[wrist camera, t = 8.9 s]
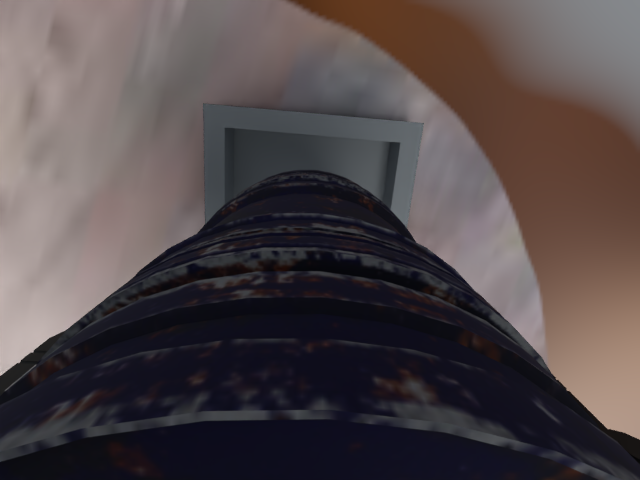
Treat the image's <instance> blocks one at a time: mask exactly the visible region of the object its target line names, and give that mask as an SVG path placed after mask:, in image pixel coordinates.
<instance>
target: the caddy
mask: <svg viewBox="0 0 640 480" xmlns="http://www.w3.org/2000/svg"><path fill="white" fill-rule="evenodd" d="M203 118H204V176H205V224H206V223H207V222H208V221H209V220H210V219H211V217H212V216H213V215H214V214H215V213H216V212H217V211H218V210H219V209H220V208H221V207H222V206H223V205H224V204H226V203H227V202H228V201H229V200H231V199H232V198H233V197H235V196H236V195H237V194H239V193H240V192H241V191H243V190H244V189H246V188H248V187H250V186H252V185H254V184H256V183H258V182H260V181H262V180H263V179H265V178H267V177H270V176H273V175H276V174H279V173H282V172H286V171H293V170H320V171H326V172H331V173H334V174H337V175H340V176H343V177H345V178H347V179H349V180H351V181H353V182H355V183H357V184H358V185H360V186H361V187H362V188H364V189H366V190H368V191H369V192H370V193H372V194H373V195H374V196H376V197H377V198H378V199H380V200H381V201H382V202H383V203H384V204H385V205H386V206H387V207H388V208H389V209H390V210H391V211H392V212H393V213H394V214H395V215H396V216H397V217H398V218H399V219H400V221H401V222H402V223H403V224H404V225H405V226H406V228H407V223H408V217H409V211H410V205H411V199H412V192H413V186H414V180H415V174H416V168H417V162H418V156H419V149H420V143H421V137H422V131H423V125H424V123H416V122H405V121H394V120H383V119H371V118H360V117H349V116H338V115H327V114H316V113H304V112H293V111H282V110H271V109H260V108H248V107H237V106H226V105H215V104H204V103H203Z"/></svg>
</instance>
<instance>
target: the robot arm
mask: <svg viewBox="0 0 640 480" xmlns="http://www.w3.org/2000/svg"><path fill="white" fill-rule="evenodd" d="M64 332H65V331H64ZM64 332H61V333H59V334H57V335H55V336H53V337H51V338H49V339H48V340H47V341H45V342H44V343H43V344H41V345H40V346H39V347H38V348H36V349H35V350H34V352H33V353H30V354H28V355H27V356H26V357H25V358H23V359H22V360H21V362H20V363H17V364H16V365H14V366H13V367H12V368H10V369H9V370H8V371H7V372H5V373H4V374H3V375H1V376H0V396H1V395H2V393H3V392H5V391H6V390H7V389H8V388H9V387H11V386H12V385H13V384H14V383H15V382H17V381H18V380H19V379H20V378H21V377H23V376H24V375H25V374H26V373H27V372H29V371H30V370H31V369H32V368H33V367H35V366H36V364H37V363H38V361H39V360H40V359H41V358H42V357H43V356H44V355H45V354H46V352H47V351H48V350H49V349H50V348H51V347H52V346H53V345H54V344H55V342H56V341H57V340H58V339H59V338H60V337H61V336H62V335H63V334H64ZM553 377H554V376H553ZM554 379H555V377H554ZM555 380H556V379H555ZM556 381H557V382H558V383H559V384H560V385H561V386H562V387H563V388H564V389H565V390H566V388H565V387H564V386H563V385H562V384H561V383H560V382H559V381H558V380H556ZM566 391H567V390H566ZM567 392H568V393H569V394H570V395H571V396H572V397H573V399H574V400H575V401H576V402H577V403H578V404H579V405H580V406H581V407H582V408H583V409H584V410H585V411H586V412H587V413H588V415H589V416H590V417H591V418H592V419H593V420H594V421H595V422H596V423H597V425H598V427H599V428H600V430H601V431H603V432H604V433H605V434H607V435H608V436H610V437H611V438H613V439H614V440H615V441H617V442H618V443H619V444H620V445H621V446H622V447H623V448H624V449H625V450H626V451H627V452H628V453H629V454H630V455H631V456H632V457H633V458H634V459H635V460H636V461H637V462H638V463H639V464H640V440H639V439H637V438H634V437H632V436H630V435H628V434H626V433H623V432H618V431H615V430H611V429H607V428H606V427H605V426H604V425H603V424H602V423H601V422H600V421H599V420H598V419H597V418H596V417H595V416H594V415H593V414H592V413H591V412H590V411H588V410H587V408H586V407H584V405H583V404H582V403H581V402H579V400H577V398H575V397H574V396H573V395H572V394H571V392H569V391H567Z"/></svg>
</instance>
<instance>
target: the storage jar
mask: <svg viewBox="0 0 640 480" xmlns="http://www.w3.org/2000/svg"><path fill="white" fill-rule="evenodd" d="M0 480H640V464H639V463H638V462H637V461H636V460H635V459H634V458H633V457H632V456H631V455H630V454H629V453H628V452H627V451H626V450H625V449H624V448H623V447H622V446H621V445H620V444H619V443H618V442H617V441H615V440H614V439H613V438H611V437H610V436H608V435H607V434H605V433H604V432H603V431H601V430H600V428H599V427H598V425H597V423H596V422H595V421H594V420H593V419H592V418H591V417H590V416H589V415H588V413H587V412H586V411H585V410H584V409H583V408H582V407H581V406H580V405H579V404H578V403H577V402H576V401H575V400H574V399H573V397H572V396H571V395H570V394H569V393H568V392H567V391H566V390H565V389H564V388H563V387H562V386H561V385H560V384H559V383H558V382H557V381H556V380H555V379H554V377H553V375H552V374H551V372H550V370H549V369H548V367H547V365H546V364H545V362H544V360H543V359H542V357H541V356H540V355H539V354H538V353H537V352H536V351H535V350H534V349H533V347H532V346H531V345H530V344H529V343H528V342H527V341H526V340H525V339H524V338H523V337H522V336H521V335H520V333H519V332H518V331H517V330H516V329H515V328H514V327H513V326H512V325H511V324H510V323H509V322H508V321H507V320H505V319H504V318H503V317H502V316H501V314H500V313H498V312H497V311H496V310H495V309H494V308H493V307H492V306H491V305H490V304H489V303H488V302H487V301H486V300H485V299H484V298H483V297H482V296H481V295H479V294H478V293H477V292H475V291H474V290H473V289H472V287H471V286H470V285H469V284H468V283H467V282H466V281H465V280H464V279H463V278H462V277H461V276H460V275H459V273H458V272H457V271H456V270H455V269H454V268H452V267H451V266H450V265H448V264H447V263H446V262H444V261H443V260H442V259H440V258H439V257H438V256H436V255H435V254H434V253H432V252H431V251H430V250H428V249H427V248H426V247H424V246H422V245H420V244H418V243H416V241H415V240H414V238H413V237H412V235H411V234H410V232H409V231H408V229H407V228H406V226H405V225H404V224H403V223H402V222H401V221H400V219H399V218H398V217H397V216H396V215H395V214H394V213H393V212H392V211H391V210H390V209H389V208H388V207H387V206H386V205H385V204H384V203H383V202H382V201H381V200H380V199H378V198H377V197H376V196H374V195H373V194H372V193H370V192H369V191H368V190H366V189H364V188H362V187H361V186H360V185H358V184H357V183H355V182H353V181H351V180H349V179H347V178H345V177H343V176H340V175H337V174H334V173H331V172H326V171H320V170H293V171H286V172H282V173H279V174H276V175H273V176H270V177H267V178H265V179H263V180H262V181H260V182H258V183H256V184H254V185H252V186H250V187H248V188H246V189H244V190H243V191H241V192H240V193H239V194H237V195H236V196H235V197H233V198H232V199H231V200H229V201H228V202H227V203H226V204H224V205H223V206H222V207H221V208H220V209H219V210H218V211H217V212H216V213H215V214H214V215H213V216H212V217H211V219H210V220H209V221H208V222H207V223H206V224H205V225H204V226H203V228H202V229H201V230H200V231H199V232H198V233H197V234H196V235H194V236H192V237H190V238H188V239H186V240H184V241H182V242H180V243H178V244H176V245H175V246H173V247H171V248H169V249H167V250H166V251H165V252H163V253H162V254H161V255H160V256H158V257H157V258H156V259H154V260H153V261H152V262H150V263H149V264H148V265H146V266H145V267H144V268H142V269H141V270H140V271H139V272H138V273H137V274H136V275H135V276H134V278H133V279H131V280H130V281H129V282H127V283H126V284H125V285H123V286H122V287H121V288H119V289H118V290H117V291H115V292H114V293H113V294H111V295H110V296H109V297H107V298H106V299H105V300H104V301H103V302H101V303H100V304H99V305H97V306H96V307H95V308H93V309H92V310H91V311H90V312H88V313H87V314H86V315H85V316H83V317H82V318H81V319H80V320H79V321H77V322H76V323H75V324H73V325H72V326H71V327H70V328H68V329H67V330H66V331H65V332H64V334H63V335H62V336H61V337H60V338H59V339H58V340H57V341H56V342H55V344H54V345H53V346H52V347H51V348H50V349H49V350H48V351H47V352H46V354H45V355H44V356H43V357H42V358H41V359H40V360H39V361H38V363H37V364H36V366H35V367H33V368H32V369H31V370H30V371H29V372H27V373H26V374H25V375H24V376H23V377H21V378H20V379H19V380H18V381H17V382H15V383H14V384H13V385H12V386H11V387H9V388H8V389H7V390H6V391H5V392H3V393H2V395H1V396H0Z"/></svg>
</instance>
